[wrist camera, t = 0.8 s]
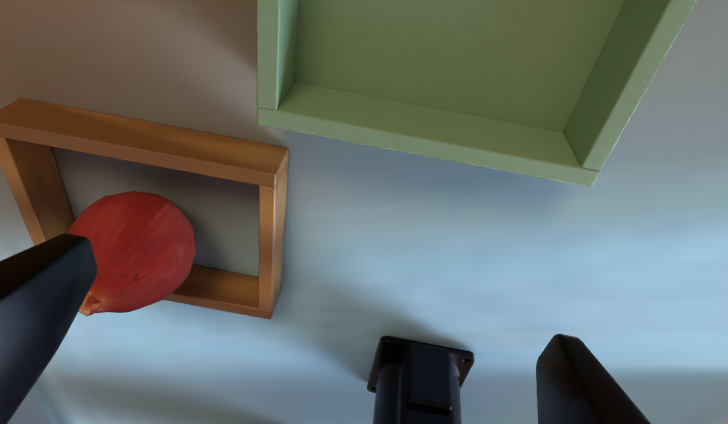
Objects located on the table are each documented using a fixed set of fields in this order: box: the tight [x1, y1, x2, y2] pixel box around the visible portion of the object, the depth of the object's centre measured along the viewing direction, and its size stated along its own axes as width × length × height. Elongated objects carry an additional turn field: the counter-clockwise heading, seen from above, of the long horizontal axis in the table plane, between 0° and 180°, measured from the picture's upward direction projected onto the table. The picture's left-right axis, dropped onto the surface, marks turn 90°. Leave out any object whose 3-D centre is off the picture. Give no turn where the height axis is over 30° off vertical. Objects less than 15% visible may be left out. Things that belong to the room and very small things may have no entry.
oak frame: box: [0, 98, 289, 319], centre depth 25 cm, size 11×14×2 cm
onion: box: [69, 191, 197, 316], centre depth 23 cm, size 6×6×8 cm
